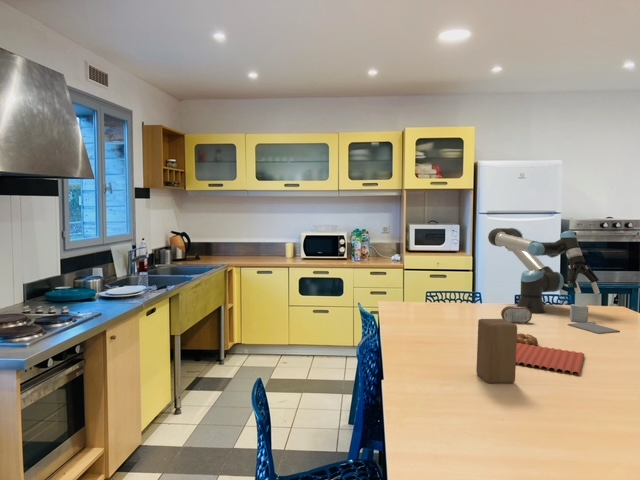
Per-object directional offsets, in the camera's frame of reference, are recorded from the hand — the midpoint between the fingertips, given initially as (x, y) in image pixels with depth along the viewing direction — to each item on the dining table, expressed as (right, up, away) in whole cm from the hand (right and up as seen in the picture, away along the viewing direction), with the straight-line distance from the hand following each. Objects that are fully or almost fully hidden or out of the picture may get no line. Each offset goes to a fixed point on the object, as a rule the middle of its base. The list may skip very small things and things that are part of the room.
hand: (588, 293), depth 257 cm
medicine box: (-7, -15, -3) cm, 16 cm away
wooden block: (-85, -19, -93) cm, 127 cm away
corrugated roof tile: (-58, -19, -70) cm, 92 cm away
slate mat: (-8, -15, -18) cm, 25 cm away
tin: (-42, -14, -8) cm, 45 cm away
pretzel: (-55, -17, -48) cm, 75 cm away
